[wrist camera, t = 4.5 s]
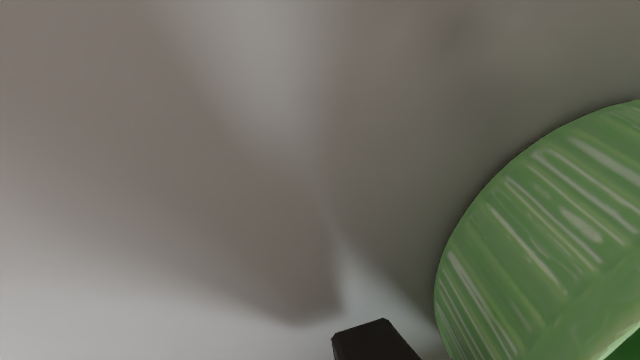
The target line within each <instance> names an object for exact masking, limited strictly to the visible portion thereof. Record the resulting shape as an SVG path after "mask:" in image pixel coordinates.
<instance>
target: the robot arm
mask: <svg viewBox="0 0 640 360" xmlns="http://www.w3.org/2000/svg"><path fill="white" fill-rule="evenodd" d="M331 341H332V346H333V352H334V357H335V360H422V359H421V358H420V357H419V356H418V355H417V354H416V353H415V352H414V350H413V349H412V348H411V347H410V346H409V345H408V344H407V342H406V341H405V340H404V339H403V338H402V337H401V335H400V334H399V333H398V332H397V330H396V329H395V328H394V327H393V325H392V324H391V323H390V322H389V320H387V319H385V318H381V319H378V320H375V321H372V322H369V323H366V324H363V325H359V326H356V327H353V328H350V329H347V330H344V331H341V332H338V333H335V335H334V336H333V337H332V338H331Z"/></svg>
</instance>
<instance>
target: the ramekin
mask: <svg viewBox="0 0 640 360" xmlns="http://www.w3.org/2000/svg"><path fill="white" fill-rule="evenodd" d="M434 310H435V319H436V322H437V325H438V328H439V332H440V336H441V338H442V341H443V343H444V346H445V348H446V350H447V352H448V354H449V357H450V359H451V360H640V100H632V101H629V102H626V103H620V104H616V105H612V106H608V107H605V108H602V109H600V110H597V111H594V112H592V113H589V114H587V115H585V116H582V117H580V118H578V119H576V120H574V121H572V122H569V123H567V124H565V125H563V126H561V127H559V128H557V129H555V130H554V131H552V132H550V133H549V134H547V135H545V136H544V137H542V138H541V139H539V140H538V141H537V142H535V143H534V144H532V145H531V146H530V147H528V148H527V149H525V150H524V151H523V152H521V153H520V154H519V155H518V156H516V157H515V158H514V159H513V160H511V161H510V162H509V163H508V164H507V165H506V166H505V167H504V168H503V169H501V170H500V171H499V172H498V173H497V174H496V175H495V176H494V177H493V178H492V179H491V180H490V181H489V183H488V184H487V185H486V186H485V187H484V188H483V189H482V190H481V192H480V193H479V194H478V195H477V197H476V198H475V199H474V201H473V202H472V203H471V204H470V206H469V207H468V209H467V210H466V211H465V213H464V214H463V216H462V217H461V219H460V221H459V222H458V224H457V225H456V227H455V229H454V230H453V232H452V234H451V236H450V238H449V240H448V242H447V244H446V247H445V249H444V251H443V254H442V257H441V260H440V263H439V266H438V271H437V275H436V279H435V286H434Z"/></svg>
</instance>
